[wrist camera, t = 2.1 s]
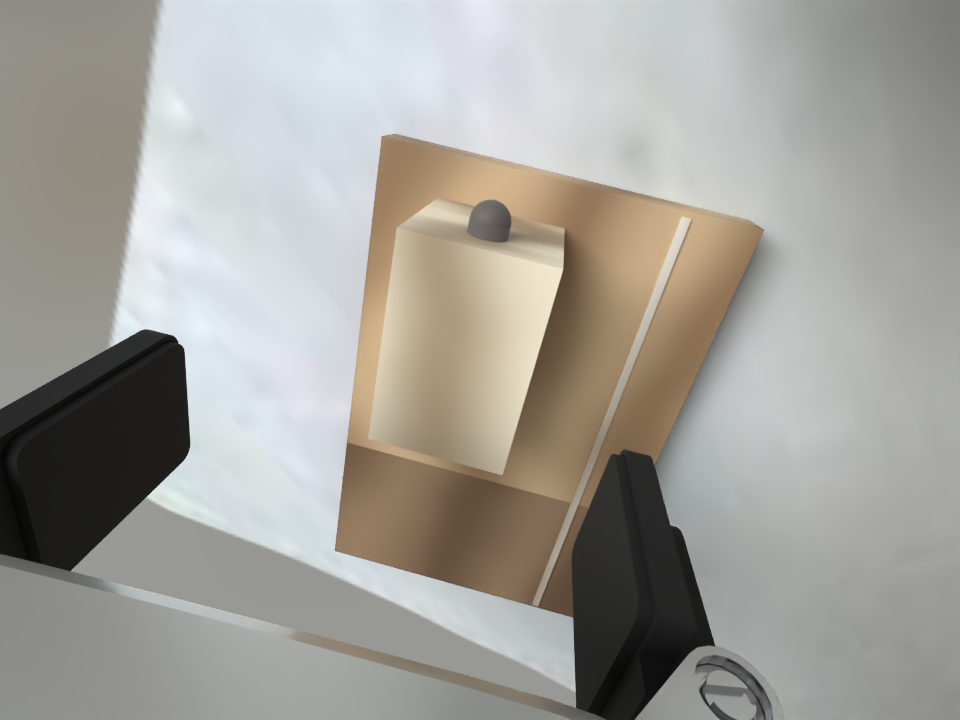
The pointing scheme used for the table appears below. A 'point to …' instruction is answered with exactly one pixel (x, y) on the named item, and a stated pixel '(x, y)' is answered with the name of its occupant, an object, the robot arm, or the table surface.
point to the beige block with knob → (463, 330)
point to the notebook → (539, 372)
